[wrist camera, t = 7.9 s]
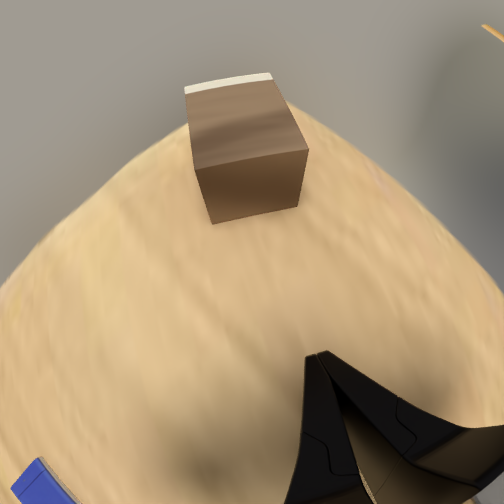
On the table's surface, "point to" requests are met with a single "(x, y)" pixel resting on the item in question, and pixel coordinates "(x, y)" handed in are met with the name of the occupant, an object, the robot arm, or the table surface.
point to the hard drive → (42, 486)
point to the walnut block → (244, 147)
